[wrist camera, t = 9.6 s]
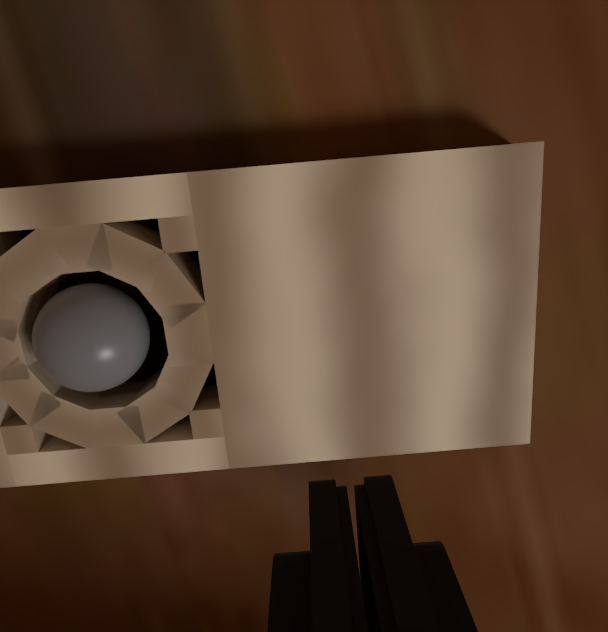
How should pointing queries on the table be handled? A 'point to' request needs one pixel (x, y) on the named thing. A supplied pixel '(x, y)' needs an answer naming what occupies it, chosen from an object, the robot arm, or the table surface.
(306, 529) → the table surface
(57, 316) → the ball
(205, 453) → the beige flat board
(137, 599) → the table surface
